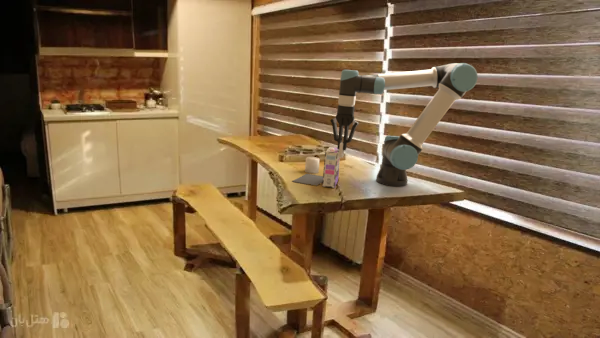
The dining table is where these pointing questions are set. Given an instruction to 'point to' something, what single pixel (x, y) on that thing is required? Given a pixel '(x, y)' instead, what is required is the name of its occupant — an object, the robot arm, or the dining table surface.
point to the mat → (309, 179)
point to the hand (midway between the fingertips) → (340, 156)
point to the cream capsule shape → (312, 165)
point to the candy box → (331, 167)
